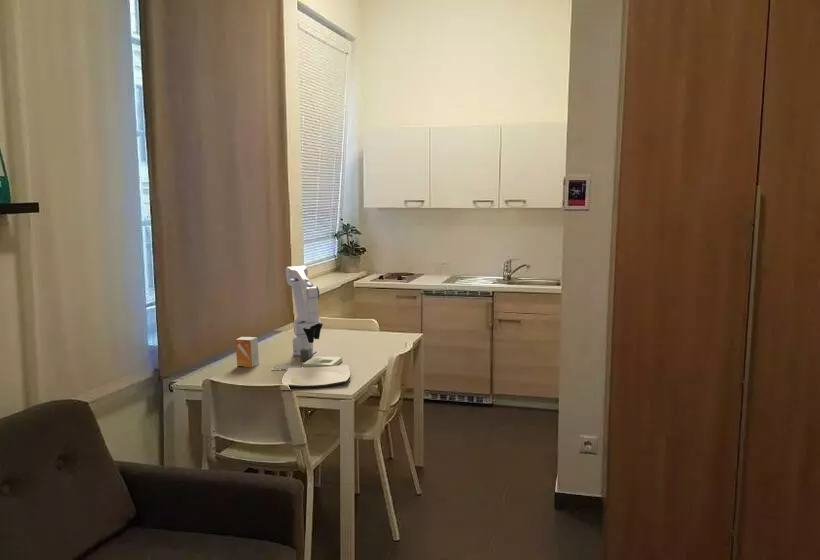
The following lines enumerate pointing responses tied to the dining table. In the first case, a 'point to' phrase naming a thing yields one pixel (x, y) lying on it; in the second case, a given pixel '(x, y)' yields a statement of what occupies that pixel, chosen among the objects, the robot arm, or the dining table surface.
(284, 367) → the phone
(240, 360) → the small box
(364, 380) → the dining table surface
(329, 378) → the plate
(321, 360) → the outlet board
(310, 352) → the charger
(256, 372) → the dining table surface
